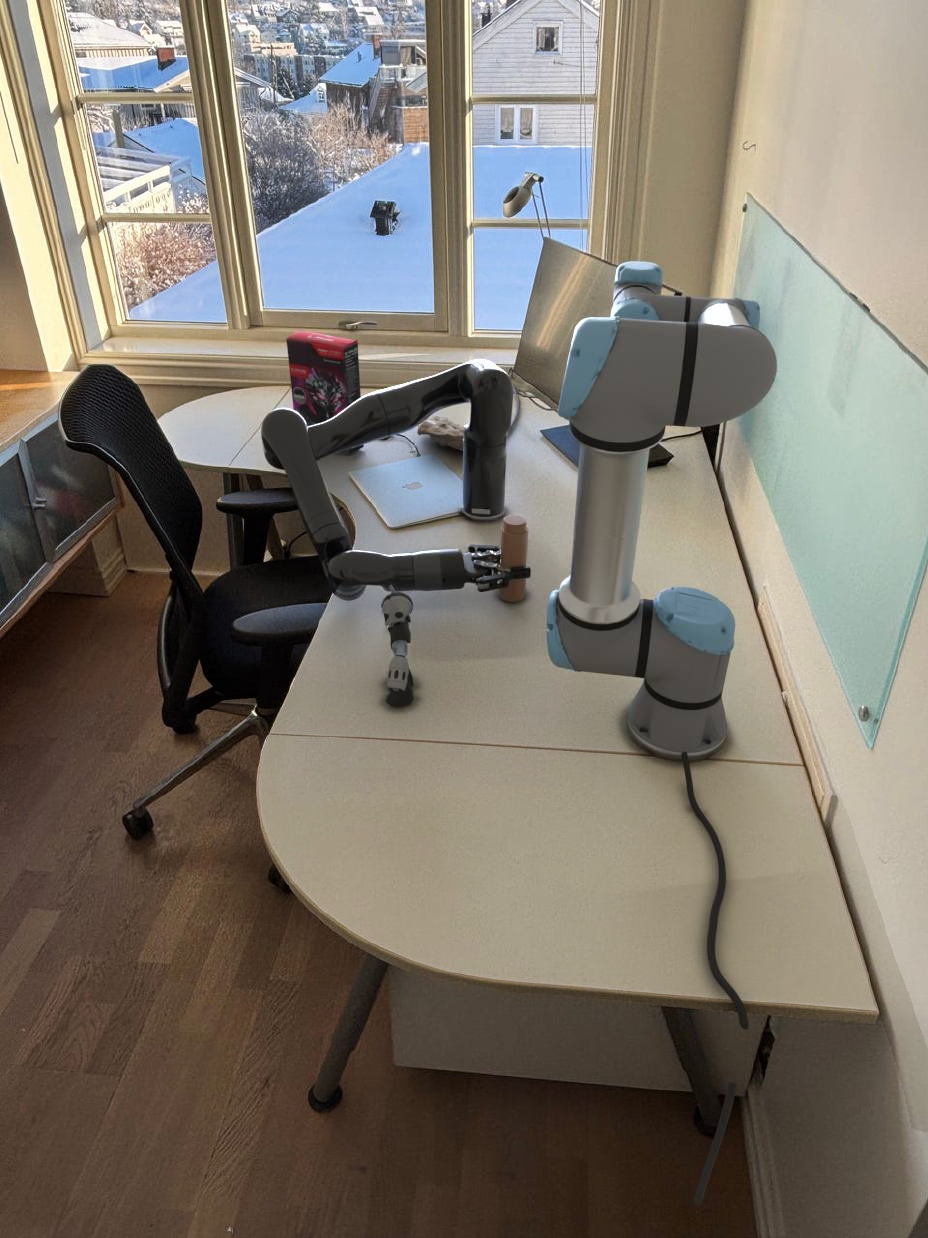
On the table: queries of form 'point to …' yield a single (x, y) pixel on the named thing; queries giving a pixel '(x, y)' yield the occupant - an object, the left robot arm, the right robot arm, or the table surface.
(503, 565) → the jar
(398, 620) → the robot
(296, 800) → the table surface
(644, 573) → the table surface
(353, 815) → the table surface
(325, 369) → the graphics card box
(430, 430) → the stone
